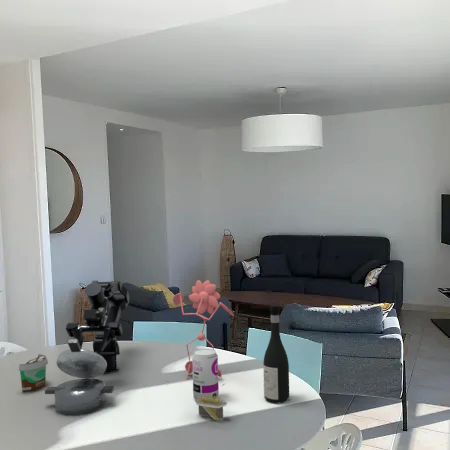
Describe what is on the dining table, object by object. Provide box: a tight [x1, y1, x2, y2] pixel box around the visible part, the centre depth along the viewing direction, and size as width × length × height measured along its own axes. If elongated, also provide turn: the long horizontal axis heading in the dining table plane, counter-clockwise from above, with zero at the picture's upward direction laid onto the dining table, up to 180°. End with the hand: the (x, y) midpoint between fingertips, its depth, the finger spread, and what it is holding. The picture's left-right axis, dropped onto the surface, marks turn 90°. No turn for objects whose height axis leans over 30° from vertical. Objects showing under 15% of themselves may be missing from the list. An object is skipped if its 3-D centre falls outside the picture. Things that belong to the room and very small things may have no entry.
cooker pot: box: [44, 378, 115, 417], centre depth 158 cm, size 15×21×6 cm
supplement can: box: [191, 348, 220, 400], centre depth 162 cm, size 8×8×15 cm
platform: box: [194, 395, 228, 421], centre depth 147 cm, size 12×18×7 cm, turn 66°
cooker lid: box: [56, 338, 107, 379], centre depth 160 cm, size 20×16×2 cm
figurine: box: [172, 279, 235, 386], centre depth 183 cm, size 15×26×35 cm, turn 62°
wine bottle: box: [262, 304, 290, 404], centre depth 159 cm, size 8×8×30 cm
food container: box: [18, 353, 49, 393], centre depth 175 cm, size 12×6×10 cm, turn 168°
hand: (90, 351), depth 170 cm, fingers open, 7 cm apart
